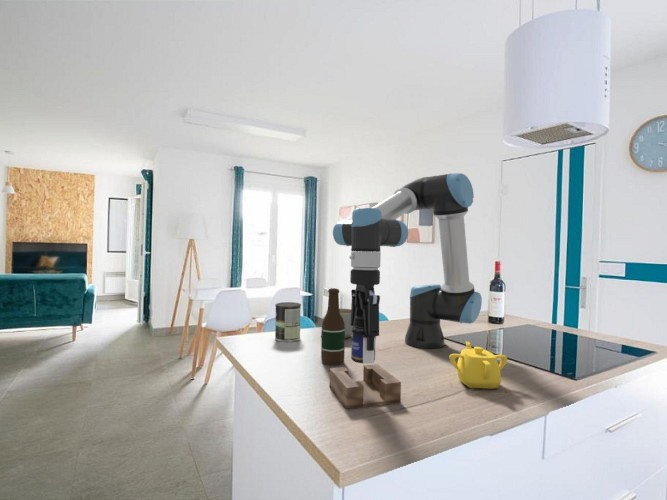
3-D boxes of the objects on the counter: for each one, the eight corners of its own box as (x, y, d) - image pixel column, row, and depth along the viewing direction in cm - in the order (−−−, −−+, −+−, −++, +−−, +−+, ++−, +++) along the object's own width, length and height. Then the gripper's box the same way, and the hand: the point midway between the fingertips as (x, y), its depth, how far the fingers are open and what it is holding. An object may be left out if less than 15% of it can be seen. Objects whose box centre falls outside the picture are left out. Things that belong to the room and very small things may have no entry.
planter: (324, 333, 159) (325, 308, 158) (352, 333, 160) (353, 308, 160) (327, 340, 146) (327, 313, 146) (357, 340, 148) (358, 313, 148)
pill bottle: (347, 358, 95) (348, 315, 95) (367, 355, 98) (368, 314, 98) (358, 365, 90) (358, 320, 90) (379, 362, 92) (380, 318, 92)
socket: (377, 381, 103) (377, 364, 103) (400, 402, 89) (400, 382, 89) (329, 386, 98) (329, 368, 98) (346, 409, 85) (346, 387, 85)
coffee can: (271, 341, 144) (272, 305, 144) (279, 335, 154) (279, 301, 154) (297, 342, 143) (297, 306, 143) (302, 336, 153) (303, 302, 153)
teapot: (441, 381, 104) (442, 345, 104) (465, 371, 112) (466, 338, 112) (488, 397, 93) (489, 357, 93) (511, 385, 102) (512, 348, 101)
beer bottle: (342, 366, 115) (343, 290, 115) (318, 364, 117) (319, 289, 116) (346, 359, 123) (347, 287, 122) (323, 357, 124) (324, 287, 124)
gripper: (339, 266, 101) (337, 349, 102) (365, 271, 83) (363, 372, 83) (364, 266, 104) (363, 348, 104) (395, 271, 85) (393, 369, 86)
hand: (363, 358), depth 94 cm, fingers closed on pill bottle, 6 cm apart
